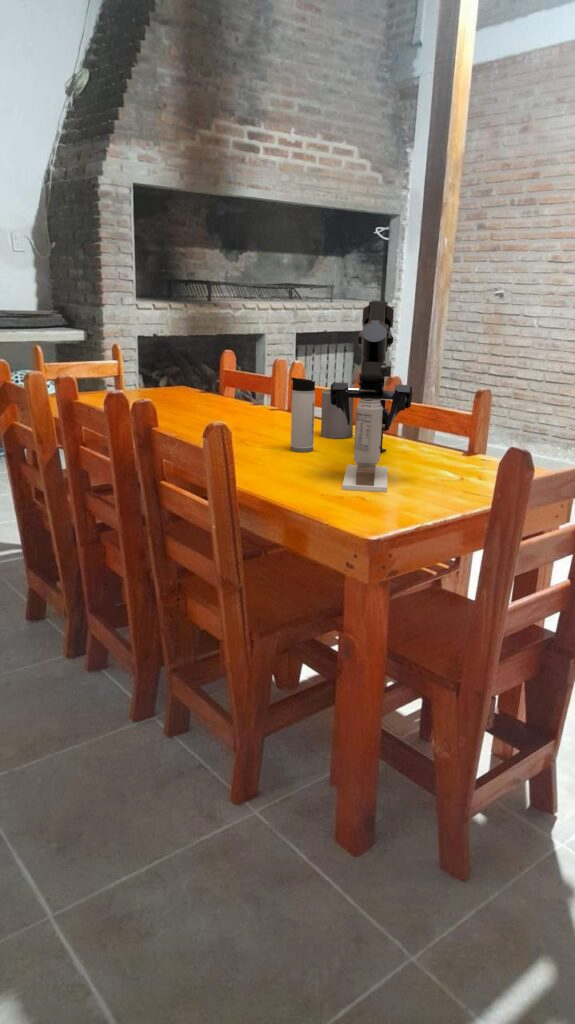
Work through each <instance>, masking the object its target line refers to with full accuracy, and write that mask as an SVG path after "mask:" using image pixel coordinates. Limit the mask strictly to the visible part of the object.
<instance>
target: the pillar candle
mask: <svg viewBox="0 0 575 1024" xmlns="http://www.w3.org/2000/svg"><path fill="white" fill-rule="evenodd" d="M330 389H331V388H329V389H323V390H322V392H321V423H320V424H321V425H320V436H321V437H322V438H326V439H330V438H331V440H337V439H338V440H339V439H340V440H342V439H343V440H344V439H345V438H346V439H351V438H352V437H353V435H354V434H353V433H354V432H353V431H354V399H355V398H349V411H350V425H348V424H347V421H346V418H345V416H344V414H343V412H342V410H341V408H337V407H336V405H332V404H331V393H330Z"/></svg>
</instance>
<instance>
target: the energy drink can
mask: <svg viewBox="0 0 575 1024" xmlns="http://www.w3.org/2000/svg"><path fill="white" fill-rule="evenodd" d="M358 401H359V402H358V404H357V406H356V410H355V426H354V427H355V428H354V445H353V446H354V448H353V449H354V450H353V461H354V462H355V465H358V466H363V467H373V466H378V463H380V460H381V452H380V447H381V431H382V426H383V424H382V414H383V407H382V405H381V403H380V402H381V400H378V399H361V398H359V400H358Z"/></svg>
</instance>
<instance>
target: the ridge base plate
mask: <svg viewBox="0 0 575 1024" xmlns="http://www.w3.org/2000/svg"><path fill="white" fill-rule="evenodd" d="M357 467H358V465H356V464H347V467H346V469H345V474H344V477H343V480H342V481H343V482H342V484H341V485H342V486H341V489H342V490H344V491H345V490H346V491H347V490H348V491H358V492H359V491H361V492H362V491H363V492H365V491H366V492H376V493H378V492H379V493H381V492H382V493H388V476H389V475H388V473H389V471H388V469H389V467H388V466H383V465H382V466H381V465H380V466H378V465H377V466H376V469H375V479H374V486H368V485H356V473H357Z"/></svg>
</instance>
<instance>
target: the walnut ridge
mask: <svg viewBox="0 0 575 1024" xmlns="http://www.w3.org/2000/svg"><path fill="white" fill-rule="evenodd" d="M375 469H376V466H373V467H363V466H358V467H357V473H356V485H368V486H374V479H375Z"/></svg>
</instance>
